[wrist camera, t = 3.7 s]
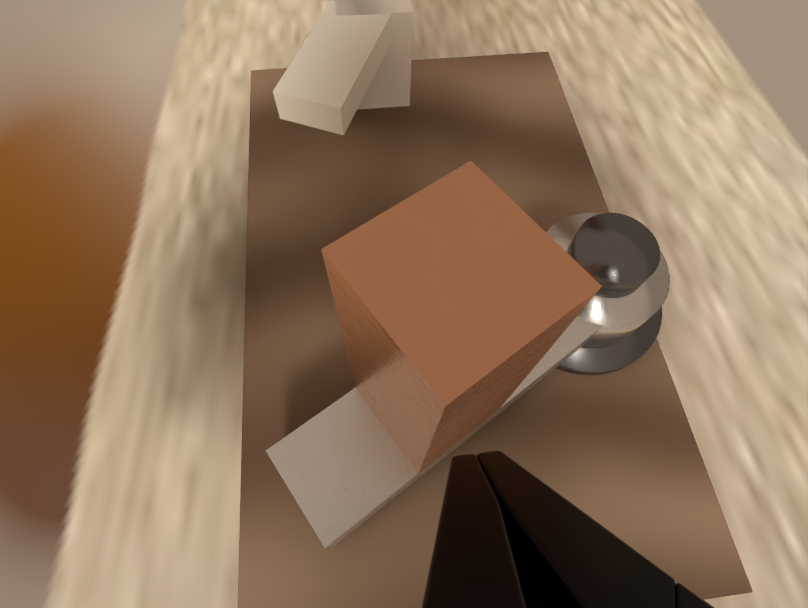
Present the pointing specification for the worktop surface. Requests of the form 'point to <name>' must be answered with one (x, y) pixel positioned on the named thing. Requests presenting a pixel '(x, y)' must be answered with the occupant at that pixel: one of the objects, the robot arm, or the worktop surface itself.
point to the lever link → (443, 339)
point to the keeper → (349, 64)
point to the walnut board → (512, 428)
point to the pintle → (615, 284)
